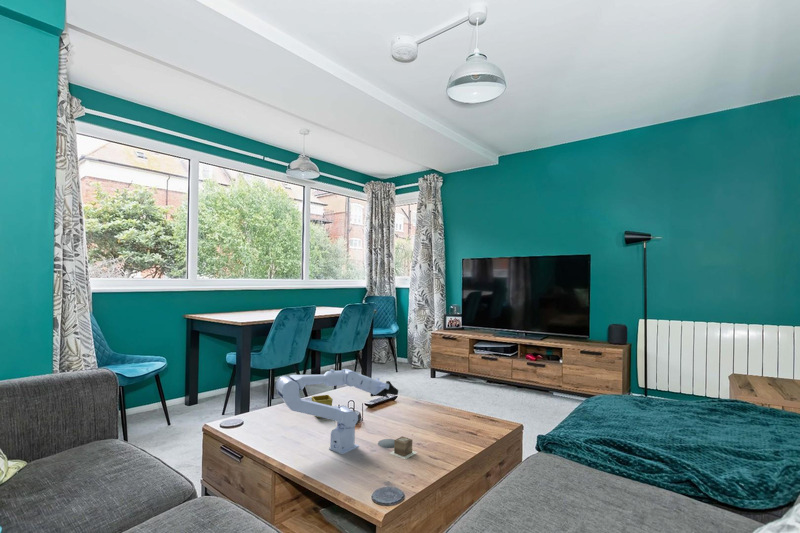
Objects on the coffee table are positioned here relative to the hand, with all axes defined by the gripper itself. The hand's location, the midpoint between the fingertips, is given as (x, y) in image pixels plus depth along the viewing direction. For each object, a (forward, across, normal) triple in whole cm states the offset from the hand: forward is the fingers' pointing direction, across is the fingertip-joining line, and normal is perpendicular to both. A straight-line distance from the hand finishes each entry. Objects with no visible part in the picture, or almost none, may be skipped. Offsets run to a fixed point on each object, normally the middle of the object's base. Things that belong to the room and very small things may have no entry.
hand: (392, 393), depth 173 cm
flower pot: (-7, +46, +9) cm, 47 cm away
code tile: (+4, -9, +23) cm, 25 cm away
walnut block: (+4, -9, +23) cm, 25 cm away
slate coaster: (+3, +1, +20) cm, 20 cm away
